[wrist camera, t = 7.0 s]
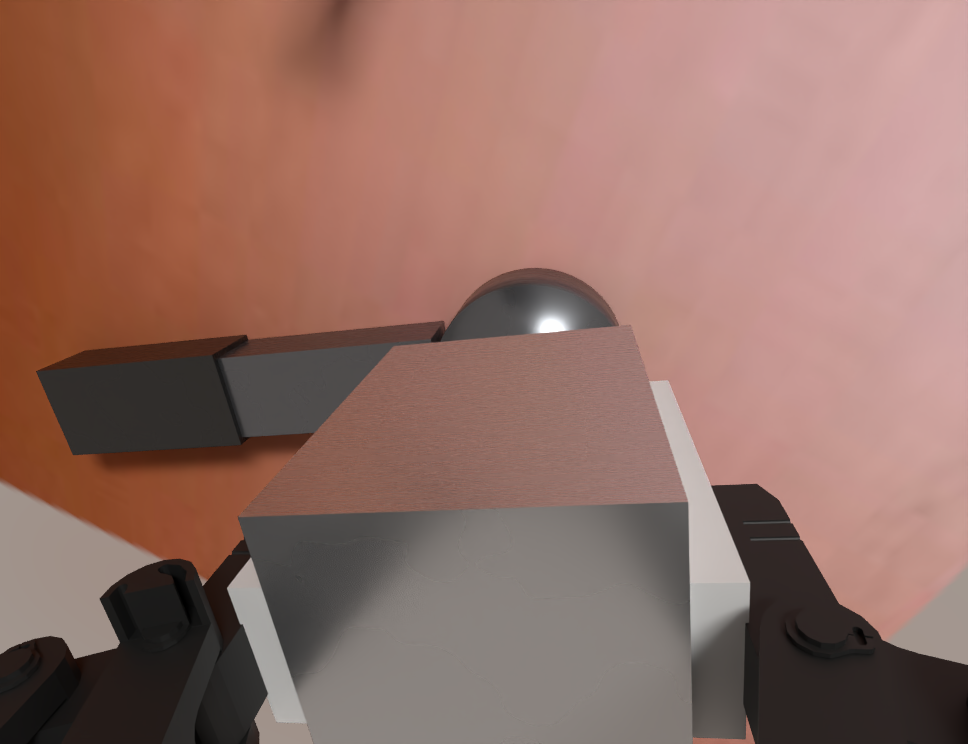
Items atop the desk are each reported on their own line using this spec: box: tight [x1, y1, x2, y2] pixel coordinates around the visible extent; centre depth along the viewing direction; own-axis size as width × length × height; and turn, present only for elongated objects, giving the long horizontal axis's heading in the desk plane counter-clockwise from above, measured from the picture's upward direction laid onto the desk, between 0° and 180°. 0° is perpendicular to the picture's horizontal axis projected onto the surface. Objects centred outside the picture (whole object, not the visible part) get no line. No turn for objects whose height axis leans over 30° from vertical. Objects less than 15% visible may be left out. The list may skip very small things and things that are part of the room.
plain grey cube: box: [238, 325, 693, 744], centre depth 11 cm, size 6×6×7 cm
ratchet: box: [36, 268, 619, 455], centre depth 18 cm, size 6×20×6 cm, turn 98°
